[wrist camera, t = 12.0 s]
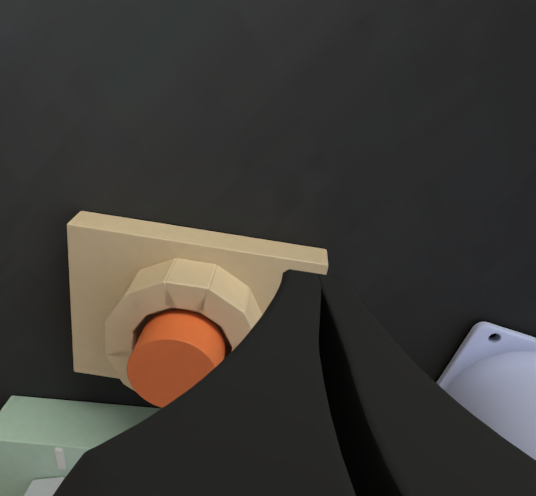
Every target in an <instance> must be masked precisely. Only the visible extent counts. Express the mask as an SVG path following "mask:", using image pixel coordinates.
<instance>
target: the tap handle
mask: <svg viewBox="0 0 536 496" xmlns="http://www.w3.org/2000/svg"><path fill="white" fill-rule="evenodd" d="M64 479H65V478H64V477H54V478H44V479H35V480H32V482H31V484H30V485H29V487H28V489H27V491H26V493H25V494H24V496H53V494H54V493H55V491H56V490H57V489H58V487H59V486H60V484H61V483H62V481H63V480H64Z"/></svg>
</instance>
